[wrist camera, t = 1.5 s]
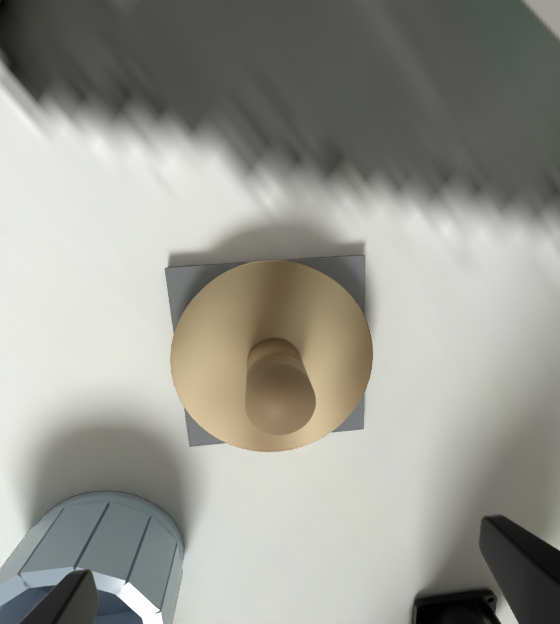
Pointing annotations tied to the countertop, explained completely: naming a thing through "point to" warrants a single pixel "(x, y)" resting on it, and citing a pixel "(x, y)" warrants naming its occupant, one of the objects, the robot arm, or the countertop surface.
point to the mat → (194, 278)
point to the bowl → (99, 559)
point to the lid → (271, 356)
